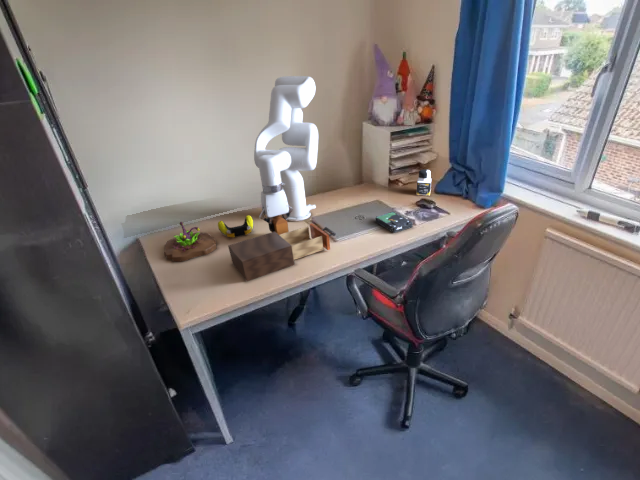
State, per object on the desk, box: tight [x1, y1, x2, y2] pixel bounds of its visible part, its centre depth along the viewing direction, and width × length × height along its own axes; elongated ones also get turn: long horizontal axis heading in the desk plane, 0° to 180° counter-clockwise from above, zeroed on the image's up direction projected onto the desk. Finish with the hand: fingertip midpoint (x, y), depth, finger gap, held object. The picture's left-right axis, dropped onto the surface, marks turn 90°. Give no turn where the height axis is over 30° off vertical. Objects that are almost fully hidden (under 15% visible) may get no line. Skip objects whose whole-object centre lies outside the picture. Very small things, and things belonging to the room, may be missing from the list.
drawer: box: [280, 223, 336, 261], centre depth 151 cm, size 22×14×6 cm, turn 126°
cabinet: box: [227, 232, 295, 282], centre depth 142 cm, size 19×15×8 cm
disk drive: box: [374, 211, 414, 234], centre depth 171 cm, size 10×3×15 cm
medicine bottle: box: [415, 168, 432, 196], centre depth 199 cm, size 7×7×12 cm
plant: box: [163, 221, 218, 263], centre depth 154 cm, size 20×20×11 cm
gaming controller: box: [217, 215, 254, 238], centre depth 166 cm, size 15×6×10 cm
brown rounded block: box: [270, 215, 290, 235], centre depth 159 cm, size 5×8×8 cm, turn 36°
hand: (279, 229), depth 161 cm, fingers closed on brown rounded block, 5 cm apart
